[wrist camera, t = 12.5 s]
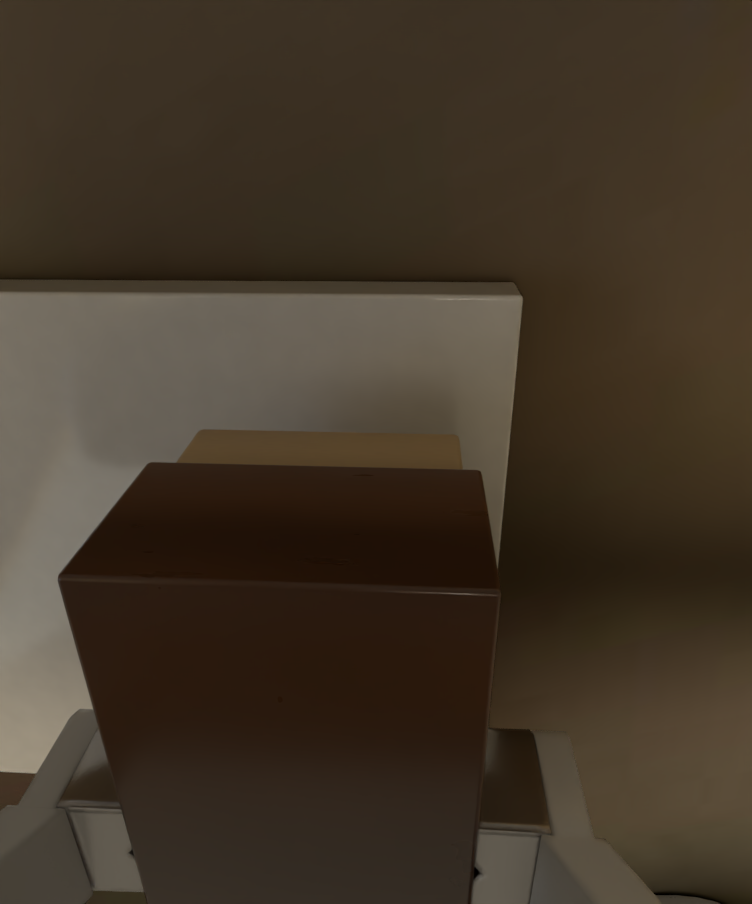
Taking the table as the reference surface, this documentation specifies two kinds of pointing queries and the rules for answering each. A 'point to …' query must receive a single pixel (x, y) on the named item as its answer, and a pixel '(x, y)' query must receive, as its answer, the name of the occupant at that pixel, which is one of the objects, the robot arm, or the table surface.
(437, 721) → the brown rectangular block
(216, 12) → the table surface
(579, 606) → the table surface
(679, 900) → the coffee cup
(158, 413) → the tile
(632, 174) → the table surface
